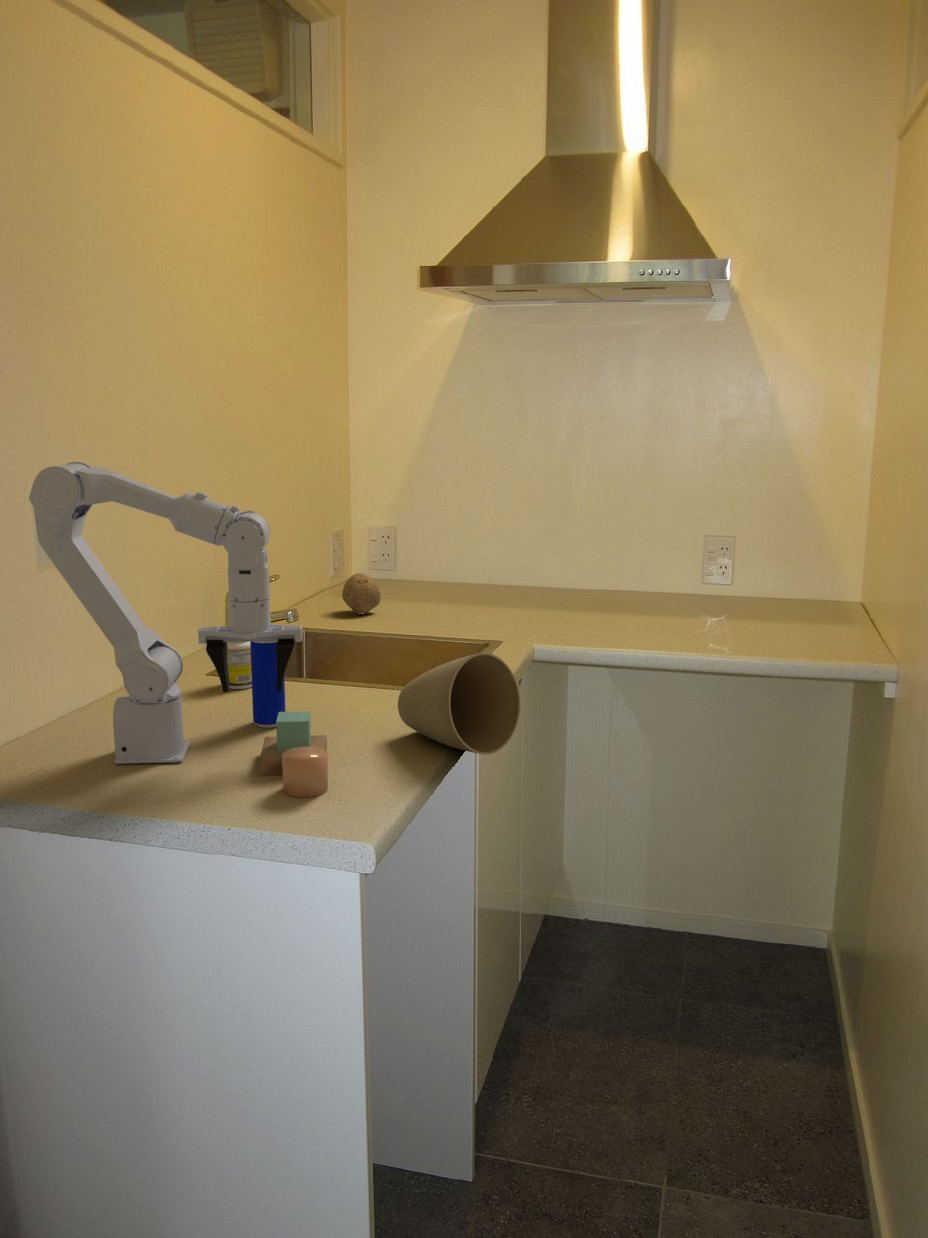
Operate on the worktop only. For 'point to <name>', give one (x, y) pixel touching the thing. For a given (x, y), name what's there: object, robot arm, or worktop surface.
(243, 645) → the supplement bottle
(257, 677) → the beverage can
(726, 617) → the worktop surface
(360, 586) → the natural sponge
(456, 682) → the plant pot
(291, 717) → the cube
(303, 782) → the rounded knob
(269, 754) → the base
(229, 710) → the worktop surface
